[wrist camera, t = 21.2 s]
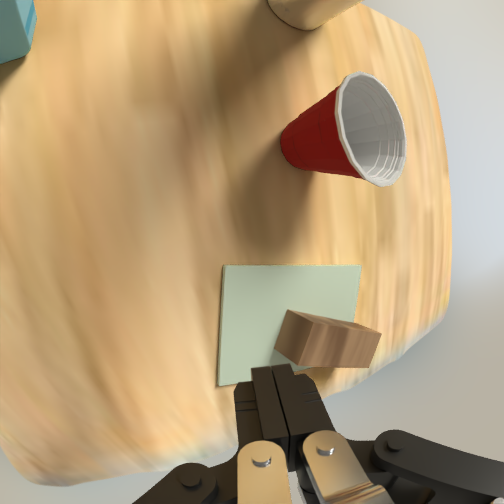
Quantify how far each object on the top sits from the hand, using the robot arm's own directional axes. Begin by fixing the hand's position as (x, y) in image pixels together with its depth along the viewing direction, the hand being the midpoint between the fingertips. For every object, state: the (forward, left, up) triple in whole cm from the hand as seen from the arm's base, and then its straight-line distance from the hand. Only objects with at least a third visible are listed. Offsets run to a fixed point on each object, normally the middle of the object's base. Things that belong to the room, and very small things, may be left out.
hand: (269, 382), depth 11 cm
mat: (-10, +14, -20) cm, 26 cm away
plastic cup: (-21, -4, -20) cm, 29 cm away
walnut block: (-7, +13, -16) cm, 22 cm away
